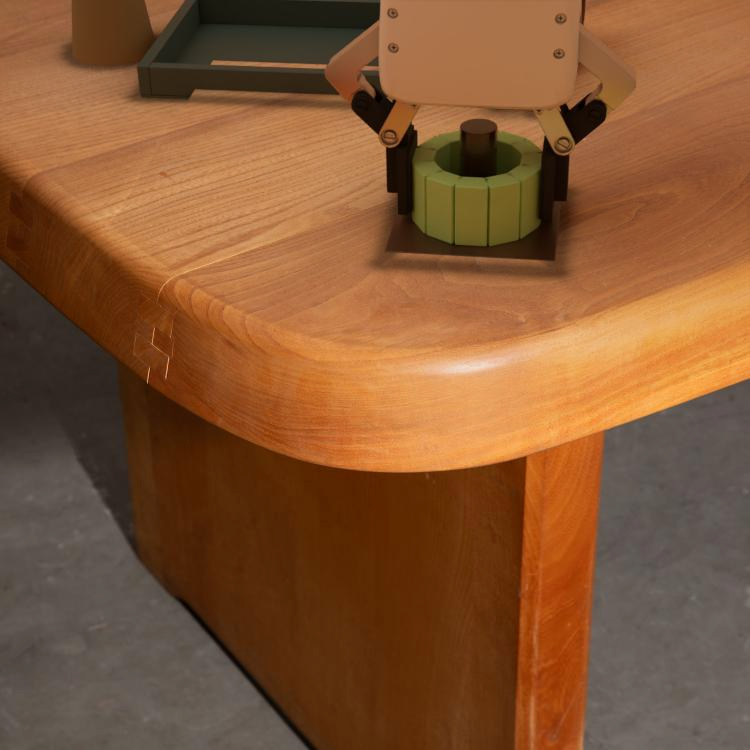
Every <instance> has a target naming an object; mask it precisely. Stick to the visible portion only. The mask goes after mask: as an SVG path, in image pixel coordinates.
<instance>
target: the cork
mask: <svg viewBox="0 0 750 750" xmlns="http://www.w3.org/2000/svg"><path fill="white" fill-rule="evenodd" d="M155 41H156V38H155V35H154V31H153V27H152V23H151V20H150V15H149V13H148V8H147V4H146V0H71V46H72V47H71V49H72V50H71V51H72V52H71V53H72V56H73V57H72V58H74V59H75V60H76V61H77V62H79V63H83V64H85V65H88V66H94V67H95V66H96V67H116V66H125V65H129V64H133V63H137V62H140V61H141V60H142V59H143V57H144V56H145V54H146V53H147V52H148V50H149V49H150V48H151V46H152V45H153V43H154V42H155Z"/></svg>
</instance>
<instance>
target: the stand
mask: <svg viewBox="0 0 750 750" xmlns="http://www.w3.org/2000/svg"><path fill="white" fill-rule="evenodd" d="M498 130H499V128H498V124H497V123H496V122H494V121H493V120H490V119H487V118H471V119H467V120H464V121H463V122H461V124H460V125H459V131H460V165H459V176H461V177H478V178H486V177H491V176H496V175H497V132H498ZM561 209H562V201H554V209H553V218H552V223H550V222H542V220H541V221H540V225H539V226H538V228H536V229H535V230H533V231H532V232H530V233H529V234H528V235H526V236H525V237H523V238H522V239H520V238H518V240H517V241H512V242H508V243H503V244H499V245H494V246H489V245H488V244H487V246H467V245H455V242H454V243H453V244H450V243H447V242H444V241H442V240H439V239H436V238H433V237H431V236H428V235H427V234H424V233H423V232H422V231H421V229H420V228H419V227H418V226H417V225H416V224H415V222H414V221H413V218H412V213H408V215H398V207H397V208H396V212H395V216H394V218H393V221H392V226H391V228H390V231H389V235H388V239H387V241H386V246H385V249H384V253H397V254H398V253H399V254H414V255H415V254H416V255H433V256H452V257H453V256H454V257H469V258H470V257H471V258H488V259H508V260H525V261H526V260H527V261H542V262H543V261H544V262H545V261H546V262H556V258H557V247H558V238H559V228H560V219H561Z"/></svg>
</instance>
